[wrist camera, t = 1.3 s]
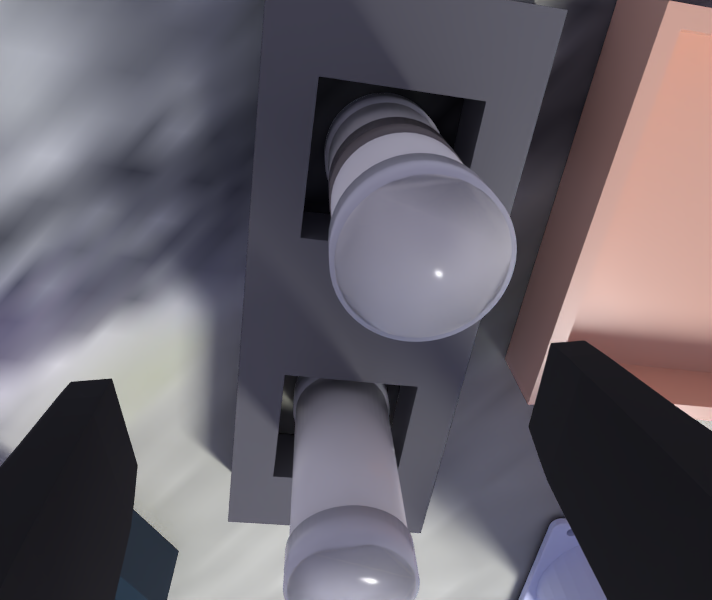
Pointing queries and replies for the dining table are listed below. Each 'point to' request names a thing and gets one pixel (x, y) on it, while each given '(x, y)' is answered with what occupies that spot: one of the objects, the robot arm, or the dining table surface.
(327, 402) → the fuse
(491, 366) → the dining table surface
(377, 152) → the cylinder
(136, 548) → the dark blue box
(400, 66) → the fuse holder
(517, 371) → the parts tray
